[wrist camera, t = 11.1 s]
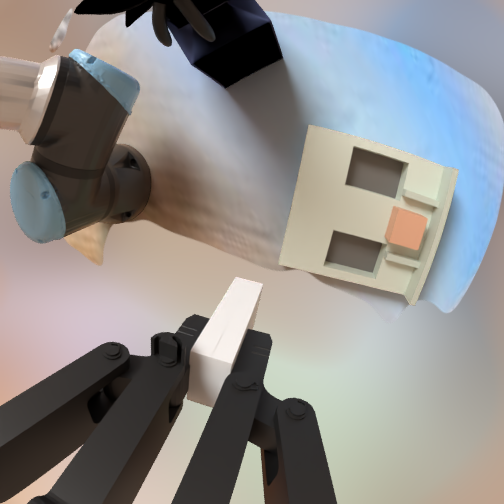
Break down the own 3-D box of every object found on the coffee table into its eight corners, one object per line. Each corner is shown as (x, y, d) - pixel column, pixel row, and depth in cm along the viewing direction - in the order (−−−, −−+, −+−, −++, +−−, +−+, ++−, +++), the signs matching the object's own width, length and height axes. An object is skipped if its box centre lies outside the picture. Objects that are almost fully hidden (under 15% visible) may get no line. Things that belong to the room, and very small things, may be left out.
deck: (279, 257, 49) (275, 272, 43) (308, 126, 41) (308, 121, 35) (404, 288, 46) (414, 305, 40) (441, 167, 39) (458, 169, 33)
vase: (213, 104, 43) (41, 41, 10) (184, 54, 41) (29, -28, 8) (290, 62, 38) (240, -97, 6) (256, 14, 36) (171, -130, 4)
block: (384, 236, 41) (389, 242, 39) (393, 205, 40) (398, 209, 37) (411, 244, 41) (417, 250, 38) (421, 214, 39) (428, 218, 36)
